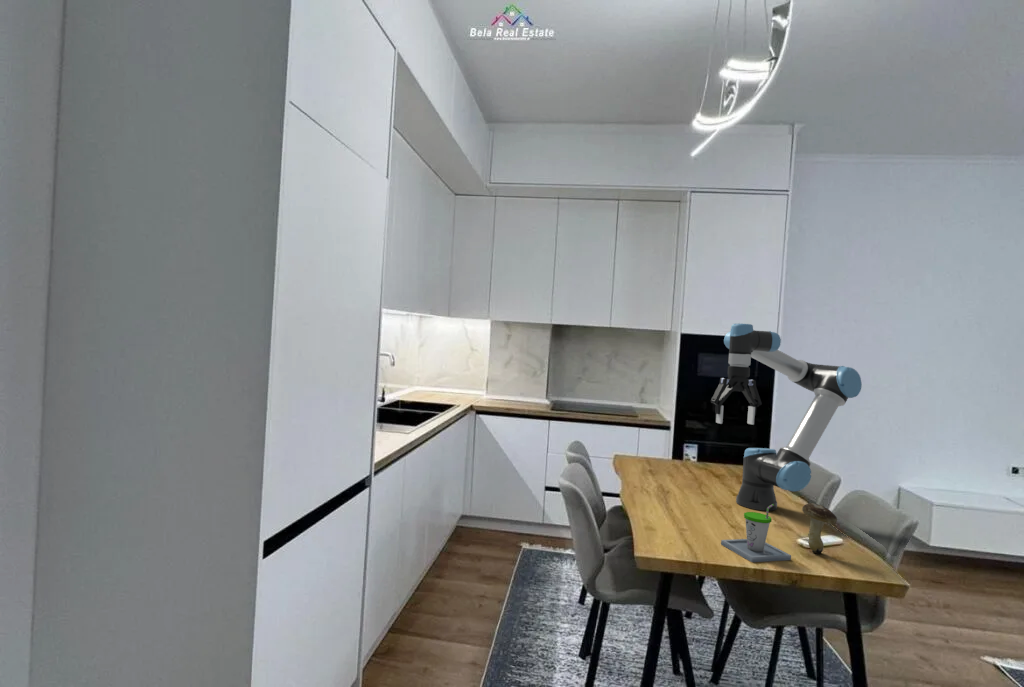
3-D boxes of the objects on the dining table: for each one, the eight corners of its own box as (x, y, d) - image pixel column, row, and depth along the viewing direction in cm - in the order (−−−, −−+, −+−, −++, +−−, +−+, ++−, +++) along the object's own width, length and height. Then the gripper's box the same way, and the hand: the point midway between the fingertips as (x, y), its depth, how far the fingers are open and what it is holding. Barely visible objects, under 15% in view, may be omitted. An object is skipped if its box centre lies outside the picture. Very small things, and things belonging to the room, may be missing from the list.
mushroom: (793, 546, 179) (796, 500, 179) (818, 547, 180) (822, 501, 180) (811, 558, 170) (815, 509, 170) (838, 559, 170) (842, 510, 170)
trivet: (758, 542, 181) (758, 538, 181) (790, 560, 167) (791, 555, 167) (720, 544, 177) (721, 539, 177) (751, 562, 163) (751, 557, 163)
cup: (735, 545, 174) (739, 497, 174) (754, 543, 177) (758, 496, 177) (756, 555, 167) (759, 505, 167) (775, 552, 170) (778, 503, 170)
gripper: (760, 366, 212) (756, 422, 212) (703, 363, 205) (699, 421, 205) (774, 368, 205) (770, 426, 205) (716, 364, 198) (712, 424, 198)
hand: (734, 423), depth 205 cm, fingers open, 13 cm apart
